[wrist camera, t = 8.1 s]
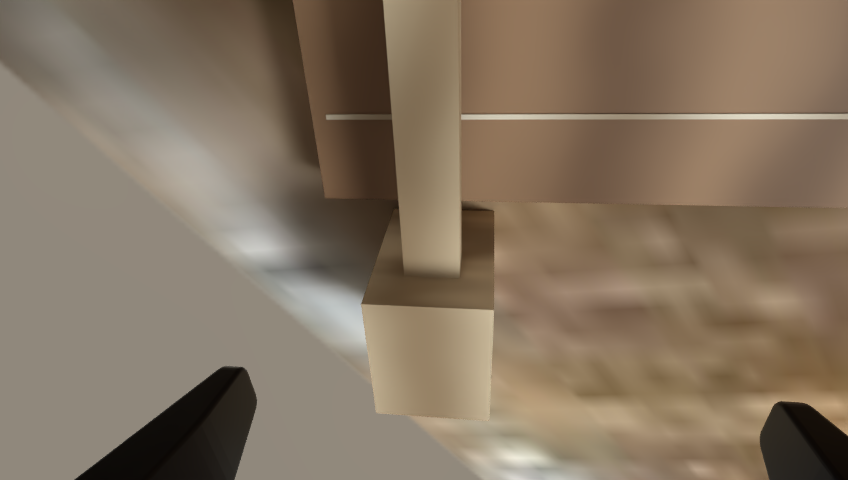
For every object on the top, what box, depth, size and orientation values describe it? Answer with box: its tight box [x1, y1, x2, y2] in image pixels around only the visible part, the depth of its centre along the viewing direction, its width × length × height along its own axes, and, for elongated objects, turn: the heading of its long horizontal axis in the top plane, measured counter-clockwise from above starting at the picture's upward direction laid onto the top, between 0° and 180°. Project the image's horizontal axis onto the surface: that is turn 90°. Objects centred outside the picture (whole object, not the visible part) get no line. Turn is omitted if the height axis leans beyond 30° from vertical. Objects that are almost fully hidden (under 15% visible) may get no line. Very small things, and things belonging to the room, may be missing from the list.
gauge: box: [361, 0, 494, 421], centre depth 17 cm, size 4×14×6 cm, turn 2°
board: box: [293, 0, 848, 208], centre depth 16 cm, size 20×6×2 cm, turn 92°
